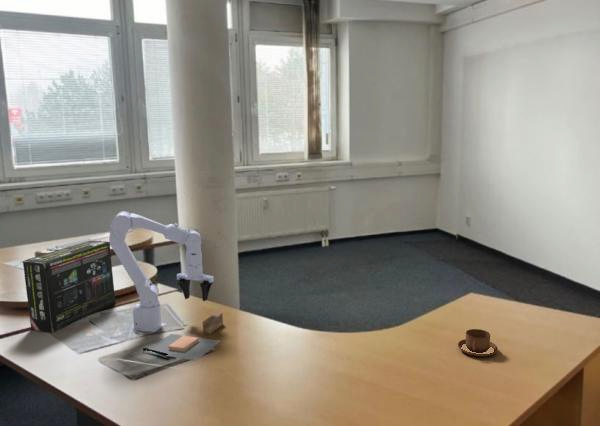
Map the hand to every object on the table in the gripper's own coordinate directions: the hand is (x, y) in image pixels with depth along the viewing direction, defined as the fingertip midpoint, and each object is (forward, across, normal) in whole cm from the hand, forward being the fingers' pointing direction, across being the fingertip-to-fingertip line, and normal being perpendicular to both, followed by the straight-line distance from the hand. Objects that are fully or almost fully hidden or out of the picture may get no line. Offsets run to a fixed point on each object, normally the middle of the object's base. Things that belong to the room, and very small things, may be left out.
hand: (196, 299), depth 196 cm
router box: (+10, +51, +7) cm, 52 cm away
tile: (+8, -7, +16) cm, 19 cm away
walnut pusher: (+10, -9, +4) cm, 14 cm away
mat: (+9, -7, +21) cm, 24 cm away
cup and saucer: (+10, -100, -5) cm, 100 cm away
